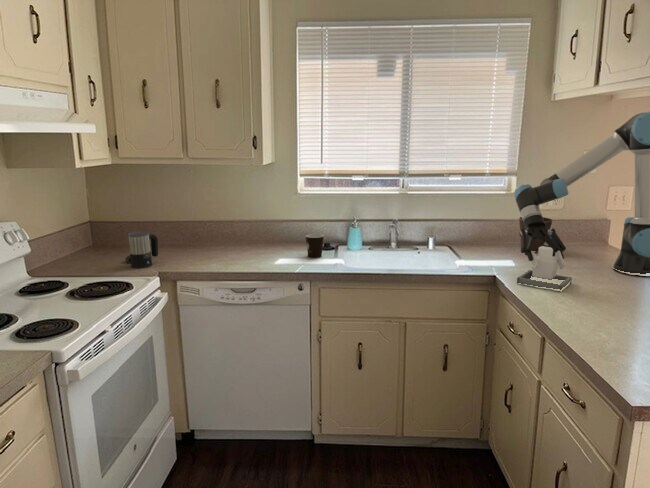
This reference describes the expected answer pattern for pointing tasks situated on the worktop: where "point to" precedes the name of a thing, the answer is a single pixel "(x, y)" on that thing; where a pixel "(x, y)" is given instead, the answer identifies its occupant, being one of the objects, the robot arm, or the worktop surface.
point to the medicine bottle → (546, 263)
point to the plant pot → (536, 242)
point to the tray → (526, 280)
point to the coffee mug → (314, 245)
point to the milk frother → (142, 249)
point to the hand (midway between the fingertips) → (549, 267)
